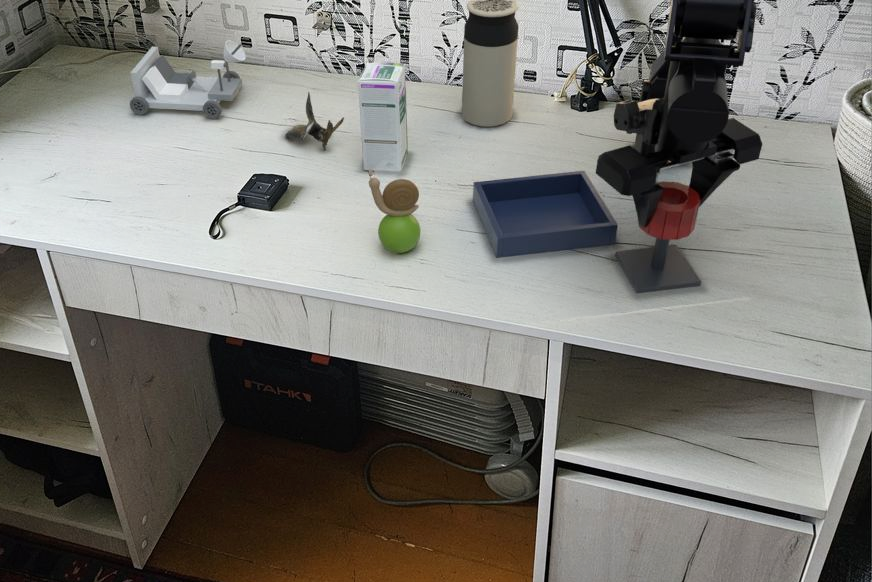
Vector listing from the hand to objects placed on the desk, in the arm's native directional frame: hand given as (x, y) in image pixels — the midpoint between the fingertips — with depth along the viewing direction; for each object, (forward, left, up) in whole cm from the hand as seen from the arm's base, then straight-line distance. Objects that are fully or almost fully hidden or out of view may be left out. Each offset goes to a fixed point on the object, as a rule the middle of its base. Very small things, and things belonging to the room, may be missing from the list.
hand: (666, 218), depth 112 cm
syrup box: (+29, -33, -8) cm, 45 cm away
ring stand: (0, 0, -8) cm, 8 cm away
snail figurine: (+31, -11, -8) cm, 34 cm away
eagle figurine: (+39, -42, -8) cm, 58 cm away
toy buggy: (+57, -59, -8) cm, 82 cm away
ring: (0, 0, -1) cm, 1 cm away
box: (+11, -13, -8) cm, 19 cm away
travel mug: (+11, -44, -8) cm, 46 cm away
